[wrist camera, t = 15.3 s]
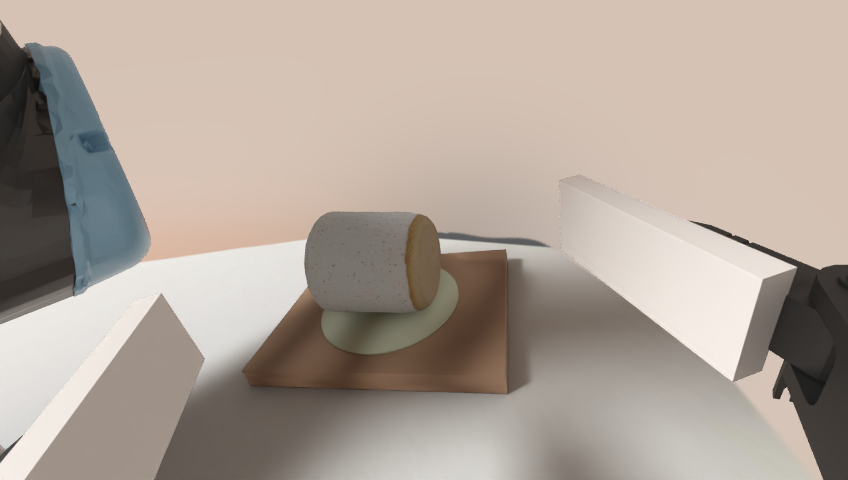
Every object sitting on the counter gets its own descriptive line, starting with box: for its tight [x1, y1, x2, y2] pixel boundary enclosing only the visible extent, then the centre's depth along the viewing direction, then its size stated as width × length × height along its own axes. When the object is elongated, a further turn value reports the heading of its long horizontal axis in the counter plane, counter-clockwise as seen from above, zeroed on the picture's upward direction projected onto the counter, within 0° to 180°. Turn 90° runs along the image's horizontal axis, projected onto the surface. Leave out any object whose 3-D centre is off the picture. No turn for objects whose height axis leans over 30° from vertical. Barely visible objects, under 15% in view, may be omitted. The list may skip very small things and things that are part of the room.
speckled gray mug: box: [304, 212, 441, 313], centre depth 28 cm, size 11×8×8 cm
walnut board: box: [242, 249, 508, 394], centre depth 29 cm, size 18×14×2 cm
